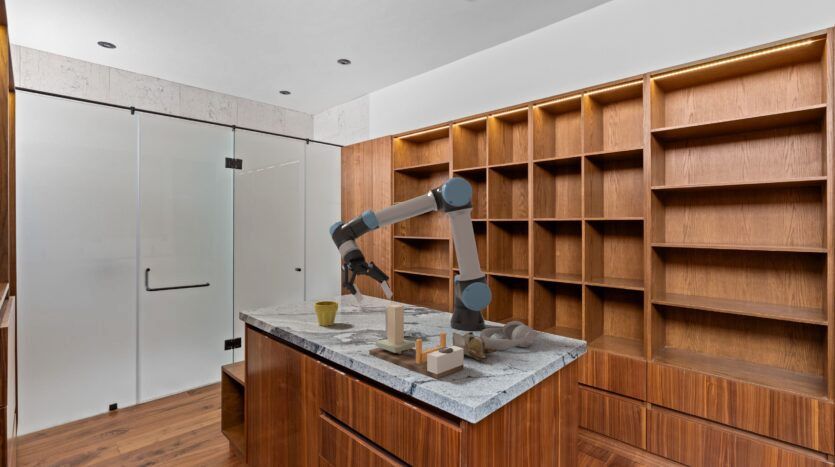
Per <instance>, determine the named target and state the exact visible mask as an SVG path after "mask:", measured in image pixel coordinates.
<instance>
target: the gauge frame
mask: <svg viewBox="0 0 835 467" xmlns="http://www.w3.org/2000/svg"><path fill="white" fill-rule="evenodd" d="M439 334H440V335H439V336H440V340H439V342H440V343H439V344H440V345H439V346H437V347H436V346H435V347H433V348H429V349H426V350H423V340H422V339H421V338H417V339H416V340H415V349H416V363H418V364H419V363H422V362H425V361H427V354H429V353H432V352H435V351H438V350H439V348H442V347H447V332H440V333H439Z"/></svg>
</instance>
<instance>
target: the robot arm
mask: <svg viewBox="0 0 835 467" xmlns="http://www.w3.org/2000/svg"><path fill="white" fill-rule="evenodd" d="M472 197H473V188H472V186H471V184H470V183H469V181H467V180H466V179H464V178H462V177H458V176H457V177H451V178H449V179H447V180H445V181H444V183H443V184H441V185H439V186H438V187H436V188H435V187H434V188H433V189H430V190H429V191H428V192H427V193H425V194H423V195H419V196H417V197H413V198H410V199H408V200H405V201H402V202H399V203H396V204H393V205H390V206H386V207H384V208H381V209H378V210H375V211H373V210H372V209H367V210H365V211H363V212H361V213H360V214H359V215H357V216H355V217H354V218H352V219H351V220H350V221H348V222H345V221H341V220H339V221H335V222H334V223H332V224H331V225H330V227H329V229H328V230H329V231H328V232H329V235H330V237H331V240H332V241H333V243H334V245H335V247H336V249H337V250H338V252H339V253H340V256H341V258H342V259H343V262H344V263H343V265H342V266H341V267H340V268H341V271H342V285H341V286H342V288H345V289H346V290H347V291H350V293H351V295H352V296H354V298H355V300H356V302H357V304H361V302H362V301H363V300H364V297H363V295H362V293H361V291H360V289H359V287H358V286H357V284H356V283H354V282H355V279H356V276H362V275H363V276H366V277H370V278H371V279H373V280H375V281H377V282H378V283H379V284H380V287H381V289H382V290H383V293H384V294H385V296H386V297H387V299H388V300H389V299H391V297H392V296H393V295H394V294H393V292H392V290H391V287H390V285H389V283H388V281H389V280H390V276H388V275H387V274H386V273H385V272H384V271H383V270H382V269H380V268H379V267H378V266H377V265H376V264H375V262H374V261H370V262H369V263H367V261H366V259H365V258H366V257H365V255H364V253H363V252H362V251H361V248H360V247H359V245H358V243H357V241H356V240H357V239H358V238H360V237H362V236H364V235H365V234H367V233H371V232H372V231H375V230H377V229H382V228H383V227H384V228H385V227H386V226H390V225H393V224H395V223H398V222H401V221H405V220H407V219H411V218H413V217H416V216H420V215H423V214H425V213H428V212H431V211H435V212H438V211H441V210H443V212H444V214H445V215H446V216H447V217H448V218H449V223H450V228H451V234H452V239H453V243H454V244H453V245H454V248H455V249H454V250H455V255H456V260H457V265H458V269H459V270H458V272H459V274H456V275H455V276H454V300H453V301H454V308H453V313H452V314H451V315H452V316H451V317H450V327H451V328H452V329H455V330H460V331H461V330H462V331H478V330H484V329H485V324H486V323H485V322H486V321H485V318H484V315H483V313H482V310H484V309H486V308H487V307H489V305H490V303H491V301H492V295H493V294H492V291H491V288H490V287H489V286H488V282H487V277H486V276H487V275H486V273H485V272H483V271H482V270H481V266H480V260H479V253H478V248H477V243H476V239H475V233H474V226H473V222H472V216H471V212H472V211H473V209H474V207H473V201H472ZM349 271H351V274H350V275H351V276H350V277H349Z"/></svg>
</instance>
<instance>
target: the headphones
mask: <svg viewBox="0 0 835 467" xmlns="http://www.w3.org/2000/svg"><path fill="white" fill-rule="evenodd" d="M498 333H502V337H503V338H493V337H492V336H493V335H495V334H498ZM479 337H481V338H482V339H483V340H484V342H485V345H487V346H488V347H489V348H491V349H493V350H494V349H497V350H498V351H506V350H509V349H510V348H512V347H515V346H516V347H518V348H528V347H529V346H531V344H532V343H533V342H534V341H535V337H536V336H535V332H534V329H533V328H532V327H531V326H529V325H525V323H523V322H522V321H518V320H512V321H509V322H507V323H505V324H504V325H503V326H502V327H491V328H490V327H488V328H483V329H482V331H481V332H480V334H479Z"/></svg>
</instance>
